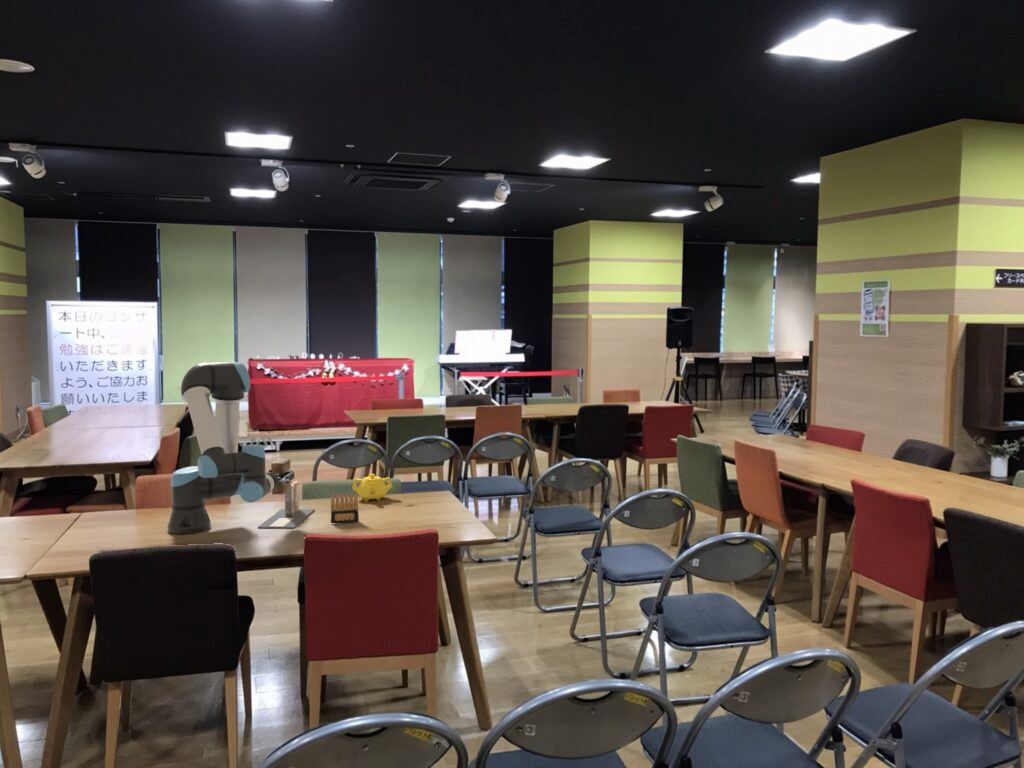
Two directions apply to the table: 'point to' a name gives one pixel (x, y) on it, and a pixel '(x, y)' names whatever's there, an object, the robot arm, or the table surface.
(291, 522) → the mat
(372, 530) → the table surface
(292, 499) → the birch hinge leaf
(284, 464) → the brown rectangular block
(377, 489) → the teapot
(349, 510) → the ammunition clip
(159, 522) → the table surface
